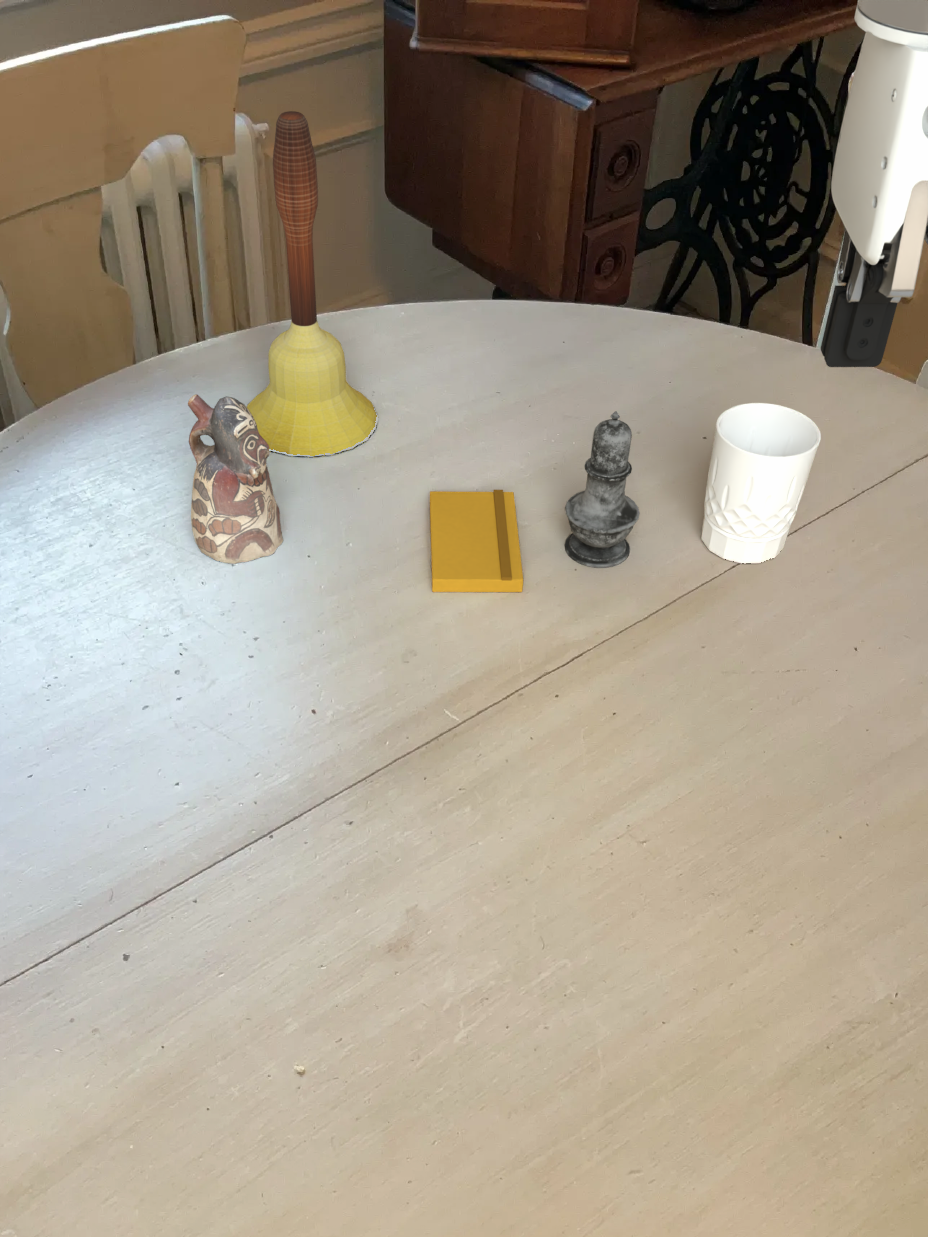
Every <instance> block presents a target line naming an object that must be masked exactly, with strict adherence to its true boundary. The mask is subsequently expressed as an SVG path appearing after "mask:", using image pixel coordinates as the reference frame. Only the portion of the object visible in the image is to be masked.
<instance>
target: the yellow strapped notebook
mask: <svg viewBox="0 0 928 1237" xmlns="http://www.w3.org/2000/svg"><path fill="white" fill-rule="evenodd" d="M429 530H430V531H429V532H430V534H429V536H430V560H431V561H430V562H431V563H430V564H431V565H430V566H431V590H432V591H431V592H432V593H523V590H524V589H523V588H524V573H523V564H522V563H523V562H522V554H521V547H520V536H519V529H518V519H517V512H516V502H515V491H504V489H493V491H448V490H447V491H444V490H442V491H440V490H439V491H438V490H437V491H436V490H435V491H431V490H430V491H429Z"/></svg>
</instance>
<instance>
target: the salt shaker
mask: <svg viewBox="0 0 928 1237" xmlns="http://www.w3.org/2000/svg"><path fill="white" fill-rule="evenodd" d="M620 417H621V416H620V414H619V413H618V411H616V410H615V411H614V412H612V414H610V419H605V420H601V421H600V422H599V423H598V424H597V425H596V426H595V427H594V430H593V435H592V436H593V437H592V442H591V451H590V457H589V458H588V459H587V460H586V461H585V463H584V470H585V472H586V473H587V474H586V475H587V476H586V484H585V489H584V490H582V491H579V492H576V493H575V494H573V495H572V496H570V497H569V498H568V500H567V501H566V503H565V506H564V511H565V515H566V517H567V521H568V525H569V529H570V531H571V532H572V533H570V534H569V535H568V537H566V539H565V541H564V551H565V552H566V554H567V556H568V557H569V558H570V559H571V560H573V561H575V562H576V563H578V564H579V565H583V566H586V567H590V568H596V569H598V568H602V569H603V568H604V569H605V568H613V567H615V566H617V565H621V564H622V563H624V562H625V561H626V560H627V558H628V557H629V556H630V553H631V552H630V551H631V548H630V543H629V542H628V541H627V537H628V536H629V535H630V533H631V532H632V530H633V529H634V526H635V525H636V523H637V522H638V521H639V519H640V515H641V514H640V509H639V506H638V504H637V503H636V502H635V501H634V500H633V498H631V497H630V496H627V495H626V491H625V490H626V484H627V477H629V476H630V475H631V474H632V471H633V467H632V464H631V463H630V461H629V459H630V458H629V457H630V452H631V445H632V439H633V438H632V437H633V434H632V429H631V428H630V426H629V424H627V423H626V422H624V421H623V420H621V419H620Z"/></svg>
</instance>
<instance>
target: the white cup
mask: <svg viewBox="0 0 928 1237" xmlns="http://www.w3.org/2000/svg"><path fill="white" fill-rule="evenodd" d="M713 435H714V437H713V442H712V448H711V454H710V461H709V468H708V473H707V474H708V475H707V480H706V487H705V498H704V503H703V506H704V512H703V513H704V514H703V520H702V526H701V538H700V539H701V541H702V543H703V544H704V545H705V547H706V548H707V550H708V551H709V552H711V553H713V554H714V555H716V556H717V557H719V558H721V559H722V560H725V559H726V560H725V561H730V562H733V561H734V563H738V564H742V563H744V564H746V563H751V564H762V563H764V561H765V562H767V561H766V560H768V561H770V560H769V559H770V558H771V560H773V559H772V558H774V559H776V557H777V556H778V555H779V554H780V553H781V552H782V551H783V550H784V548H785V544H786V542H787V538H788V536H789V531H790V530H791V525H792V523H793V521H794V519H795V517H796V514H797V511H798V508H799V505H800V502H801V500H802V497H803V495H804V492H805V488H806V485H807V482H808V479H809V477H810V473H811V471H812V467H813V464H814V461H815V458H816V454H817V452H818V449H819V446H820V444H821V443H820V442H821V439H822V434H821V430H820V428H819V427H818V424H817V423H815V422H814V420H813V419H811V418H810V417H809V416H808V415H806V414H804V413H802V412H800V411H799V410H796V409H794V408H791V407H789V406H784V405H780V404H775V403H770V402H748V403H741V404H737V405H734V406H731V407H729V408H727V409H726V410H724V411H723V412H722V413H720V414H719V416H718V417H717V419H716V423H715V429H714V434H713ZM781 550H782V551H781ZM780 551H781V552H780ZM761 562H762V563H761Z"/></svg>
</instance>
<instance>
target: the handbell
mask: <svg viewBox="0 0 928 1237" xmlns="http://www.w3.org/2000/svg"><path fill="white" fill-rule="evenodd" d="M272 170H273V172H272V173H273V190H274V200H275V206H276V209H277V211H278V214H279V217H280V219H281V222H282V225H283V229H284V236H285V237H284V238H285V247H286V260H287V274H288V292H289V305H290V319H291V321H290V326H289V328H288V329H287V330H285V331H282V332H281V333H280V334H279V335H278V336H277V337H276V338H274V340H273V341H272V342H271V343H270V348H269V350H268V353H267V354H268V355H267V356H268V358H267V359H268V363H267V364H268V366H267V367H268V369H267V370H268V378H269V379H268V380H269V383H268V384H267V386H266V388H265V389H263V391H261V392H260V393H258V394H257V395H255V397H254V398H253V399H252V400H251V401H250V402H249V403H248V404H247V405H246V407H247V408H248V410H249V411H250V412H251V414H252V416H253V418H254V420H255V422H256V424H257V429H258V431H259V434H260V435H261V436H262V438H263V439H264V440H265V441H266V442H267V444H268V445H269V449H271V450H273V449H274V450H276V451H279V452H286V453H287V454H293V455H297V454H300V455H310V456H315V455H319V454H324V455H325V453H330V454H333V453H336V452H338V451H341V450H343V449H346V448H348V447H352V446H354V445H355V444H356V443H358V442H361V441H363V440H364V439H365V438H366V437H368V435H369V434H370V432H371V430H373V428H374V427H375V423H376V422H375V421H376V417H377V415H378V414H377V415H376V413H377V411H376V412H375V410H376V409H375V410H374V408H375V406H374V404H373V403H372V401H371V400H370V399H368V398H367V397H366V396H365V395H364V394H363V393H362V392H360V391H358V390H357V389H355V388H354V387H353V386H351V385H350V384H349V382H348V381H347V366H346V358H345V352H344V349H343V346H342V344H341V342H340V340H338V339H337V338H336V337H335V336H334V335H333V334H332V333H331V332H329V331H327V330H325V329H323V328H321V327H320V324H319V322H318V319H317V318H318V316H317V315H318V314H317V295H316V294H317V293H316V278H315V275H316V274H315V260H314V259H315V258H314V240H313V238H314V231H313V230H314V225H315V224H314V223H315V220H316V219H315V218H316V215H317V211H318V205H319V185H318V184H319V183H318V173H317V172H318V170H317V158H316V153H315V149H314V145H313V141H312V137H311V131H310V127H309V123H308V119H307V118H306V116H305V115H304V114H303V113H302V112H299V111H293V110H291V111H290V110H288V111H284V112H282V113H279V116H278V118H277V119H276V122H275V133H274V144H273V151H272ZM373 406H374V407H373Z"/></svg>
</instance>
